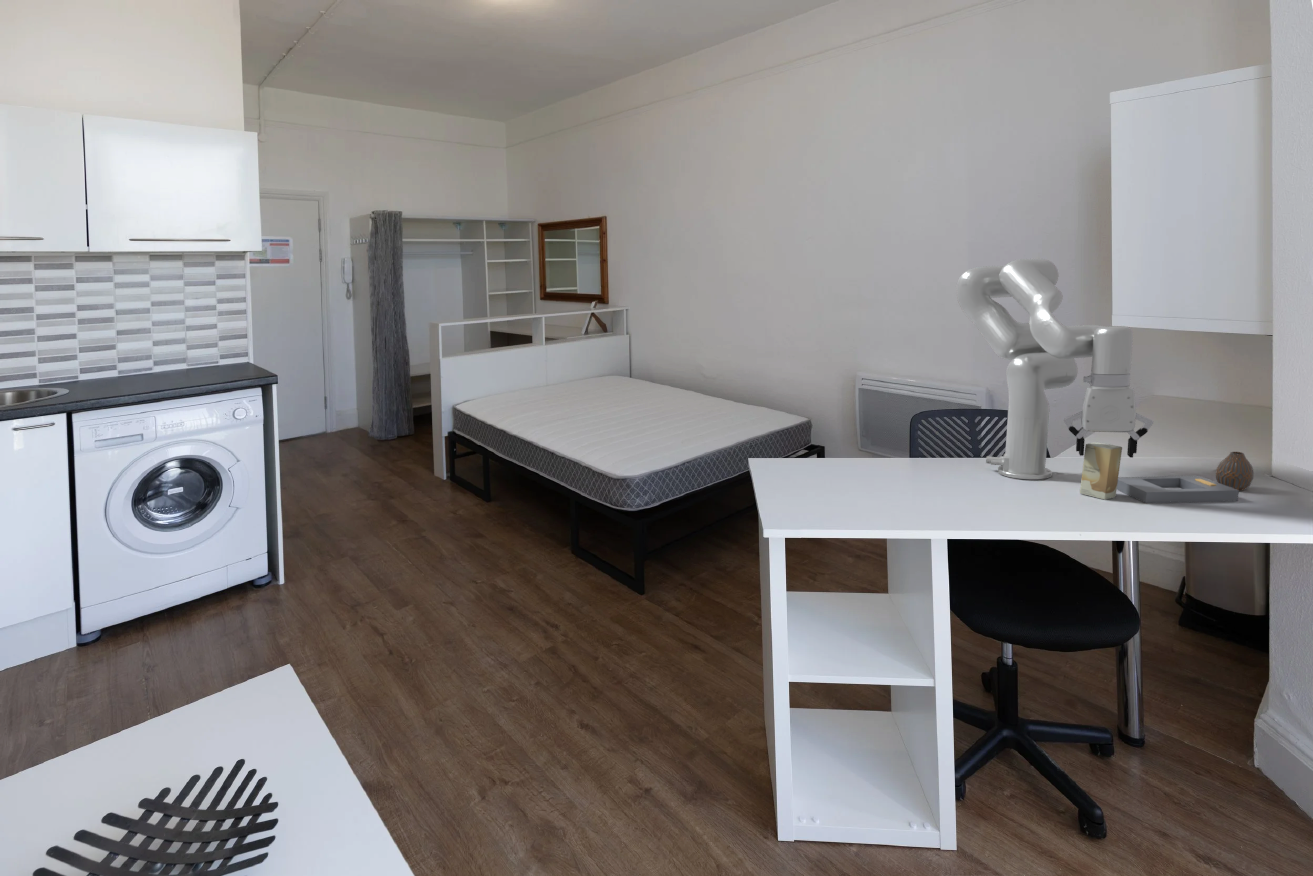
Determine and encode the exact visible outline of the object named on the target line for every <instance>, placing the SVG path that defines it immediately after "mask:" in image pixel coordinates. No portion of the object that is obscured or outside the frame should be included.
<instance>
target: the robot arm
mask: <svg viewBox="0 0 1313 876" xmlns="http://www.w3.org/2000/svg"><path fill="white" fill-rule="evenodd" d="M1059 274H1060V273H1059V269H1058V268H1057V266H1056V265H1055V263H1054V262H1052V261H1051V260H1049V259H1045V258H1026V259H1025V258H1021V259H1015V260H1012V261H1010V262H1008V263H1007V264H1005V265H997V266H996V265H994V266H993V265H992V266H990V265H988V266H978V267H977V266H976V267H973V268H969V269H967V270H966V271H964V272H962V274H961V275H960V276H959V278H958V280H957V283H956V299H957V302H958V306H959V308H960V309H961V310H962V312H963V313H964V315H965V316H966V317H967V318H968V319H969V321H970V322H972V323H973V325H974V326H975V328H976V329H977V330H978V332H979V333H980V334H981V335H982V337H983V339H984V340H985V341H986V343H987V345H988V346H989V347H990V348H991V349H992V351H993V352H994V354H996V356H998V358H1000V359H1002V360H1007V361H1008V360H1010V362H1009V363H1008V365H1007V367H1006V370H1005V371H1006V372H1005V373H1006V374H1005V376H1006V383H1007V390H1008V391H1007V393H1008V406H1007V407H1008V409H1007V422H1006V423H1007V425H1006V437H1005V438H1006V441H1005V453H1003V455H1000V456H999V457H996V456H995V457H994V456H989V455H987V456H986V458H985V459H986V460H985V464H990V465H991V466H997V472H998V474H1000V475H1001V476H1005V477H1008V478H1012V479H1019V480H1044V479H1048V478H1051V477H1052V475H1053V474H1052V473H1053V472H1052V470H1051V469H1049V468H1047V467H1046V463H1047V462H1046V461H1047V451H1048V437H1049V425H1050V413H1051V412H1050V411H1051V410H1050V403H1049V400H1048V399H1049V398H1048V397H1047V395H1046V392H1045V390H1056V389H1063V388H1066V387H1068V386H1070V385H1072V383H1074V382H1075V380H1076V379H1077V377H1078V374H1079V373H1078V372H1079V368H1078V364H1077V361H1076V359H1084V358H1091V371H1090V374H1089V375H1086V376H1083V380H1082V381H1083V383H1087V384H1090V385H1089V386H1086V387H1087V388H1086V390H1085V393H1084V398H1083V405H1082V409H1081V411H1079V412H1077V413H1074V414H1072V415H1069V416H1067V417H1064V419H1063V421H1064V423H1065V425H1066V427H1067V429H1068V431H1069V432H1070V433H1071V434H1073V436H1074V437H1076V445H1075V451H1076V452H1078V455H1079V456H1080V457H1082V456H1083V457H1084V454H1085V443H1086V441H1085V438H1084V436H1085V435H1086V434H1088V432H1093V433H1095V432H1096V433H1097V432H1098V433H1128V435H1129V438H1128V439H1127V451H1126V453H1127V456H1128V457H1129V458H1132V459H1133V458H1134V454H1137V450H1138V448H1137V447H1138V440H1140V439H1141V438H1142V437H1143V436H1145V435H1146V434H1147V433H1148V431H1149V430H1150V428H1152V426H1153V424H1154V421H1153V419H1150V418H1149V417H1147V416H1144V415H1141V414H1140V413H1137V412H1136V410H1137V409H1136V393H1135V389H1134V387H1132V386H1130V384H1131V372H1132V371H1131V369H1132V359H1133V357H1132V356H1133V344H1134V343H1133V341H1134V331H1133V329H1132V327H1129V326H1125V325H1123V326H1122V325H1116V326H1115V325H1114V326H1113V325H1112V326H1104V325H1097V324H1087V325H1084V324H1083V325H1082V324H1081V325H1067V326H1065V325H1064V324H1063V323H1061V321H1060V320H1059V319H1058V318H1057V317H1056V316H1055V315H1054V314H1053V313H1054V312H1056V310H1057V309H1058V308H1059V307H1060V305H1061V303H1062V301H1063V300H1064V299H1063V297H1064V296H1063V293H1062V291H1061V290H1060V289H1059V288H1058V287H1057V286H1056V284H1057V283H1058V281H1059V277H1060V276H1059ZM995 298H996V299H997V298H1013V299H1014V300H1015V301H1016V302H1017V303H1018V305H1020V306H1021V308H1023V310H1024V311H1025V312H1026V313H1027V314H1028V315H1029V318H1028V322H1019V321H1017V320H1015V318H1014V317H1013V316H1012V315H1011V314H1010V312H1009V311H1008V310H1007V308H1006V307H1004V306H1003V305H1002V304H1000V303H998V302H997V301H996V300H994V299H995ZM1078 420H1081V427H1080V428H1079V429H1077V428H1076V427H1075V426H1074V425H1073V422H1075V421H1078ZM1136 420H1137V421H1139V422H1141V423H1143V425H1142V426H1141V427H1140V428H1139V429H1137V430H1136V431H1135V428H1136Z"/></svg>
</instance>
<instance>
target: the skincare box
mask: <svg viewBox="0 0 1313 876" xmlns="http://www.w3.org/2000/svg"><path fill="white" fill-rule="evenodd" d="M1122 451H1123V447H1122V446H1119V445H1114V444H1111V443H1110V444H1109V443H1103V442H1098V441H1095V442H1090V443H1085V445H1084V455H1083V463H1082V464H1083V465H1082V472H1081V481H1080V489H1079V494H1080V495H1086V496H1090V497H1094V498H1097V499H1101V500H1105V501H1106V500H1110V499H1113V498H1116V496H1117V491H1118V490H1117V483H1118V477H1119V474H1120V467H1121V459H1122Z"/></svg>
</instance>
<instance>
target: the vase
mask: <svg viewBox="0 0 1313 876" xmlns="http://www.w3.org/2000/svg"><path fill="white" fill-rule="evenodd" d="M1254 474H1255V473H1254V468H1253V466H1252V464H1251V462H1250V461H1249V460H1248V458H1247V457H1246V455H1245V452H1242V451H1241V452H1240V451H1231V452H1230V453H1229V454H1228V455H1227V456H1226V457H1225V458H1223V459H1222V460H1221V461H1220V462H1219V464H1218V465H1217V467H1216V470H1215V478H1216V479H1215V480H1216V482H1217V483H1220V484H1223V485H1226V486H1228V487H1231V488H1234V489H1237V490H1239V492H1241V491H1244V490H1247V488H1249V487H1250V486H1251V485H1252V483H1253V479H1254Z"/></svg>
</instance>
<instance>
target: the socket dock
mask: <svg viewBox="0 0 1313 876" xmlns="http://www.w3.org/2000/svg"><path fill="white" fill-rule="evenodd" d="M1116 491H1119V492H1121V493H1123V494H1126V495H1128V496H1130V497H1132V498H1133V499H1136V500H1138V501H1141V502H1143V503H1144V504H1153V503H1154V504H1157V503H1158V504H1160V503H1161V504H1162V503H1163V504H1165V503H1166V504H1167V503H1205V502H1207V503H1208V502H1209V503H1210V502H1211V503H1213V502H1238V501H1239V493H1240V491H1239V490H1237V489H1234V488H1231V487H1228V486H1226V485H1223V484H1220V483H1218V482H1217V481H1214V480H1211V479H1209V478H1206V477H1203V476H1201V475H1160V476H1159V475H1158V476H1156V475H1154V476H1153V475H1152V476H1120V477H1119V476H1118V483H1117V490H1116Z"/></svg>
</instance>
